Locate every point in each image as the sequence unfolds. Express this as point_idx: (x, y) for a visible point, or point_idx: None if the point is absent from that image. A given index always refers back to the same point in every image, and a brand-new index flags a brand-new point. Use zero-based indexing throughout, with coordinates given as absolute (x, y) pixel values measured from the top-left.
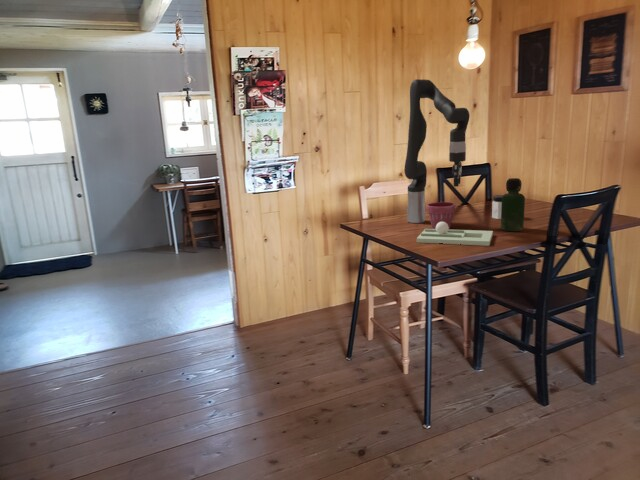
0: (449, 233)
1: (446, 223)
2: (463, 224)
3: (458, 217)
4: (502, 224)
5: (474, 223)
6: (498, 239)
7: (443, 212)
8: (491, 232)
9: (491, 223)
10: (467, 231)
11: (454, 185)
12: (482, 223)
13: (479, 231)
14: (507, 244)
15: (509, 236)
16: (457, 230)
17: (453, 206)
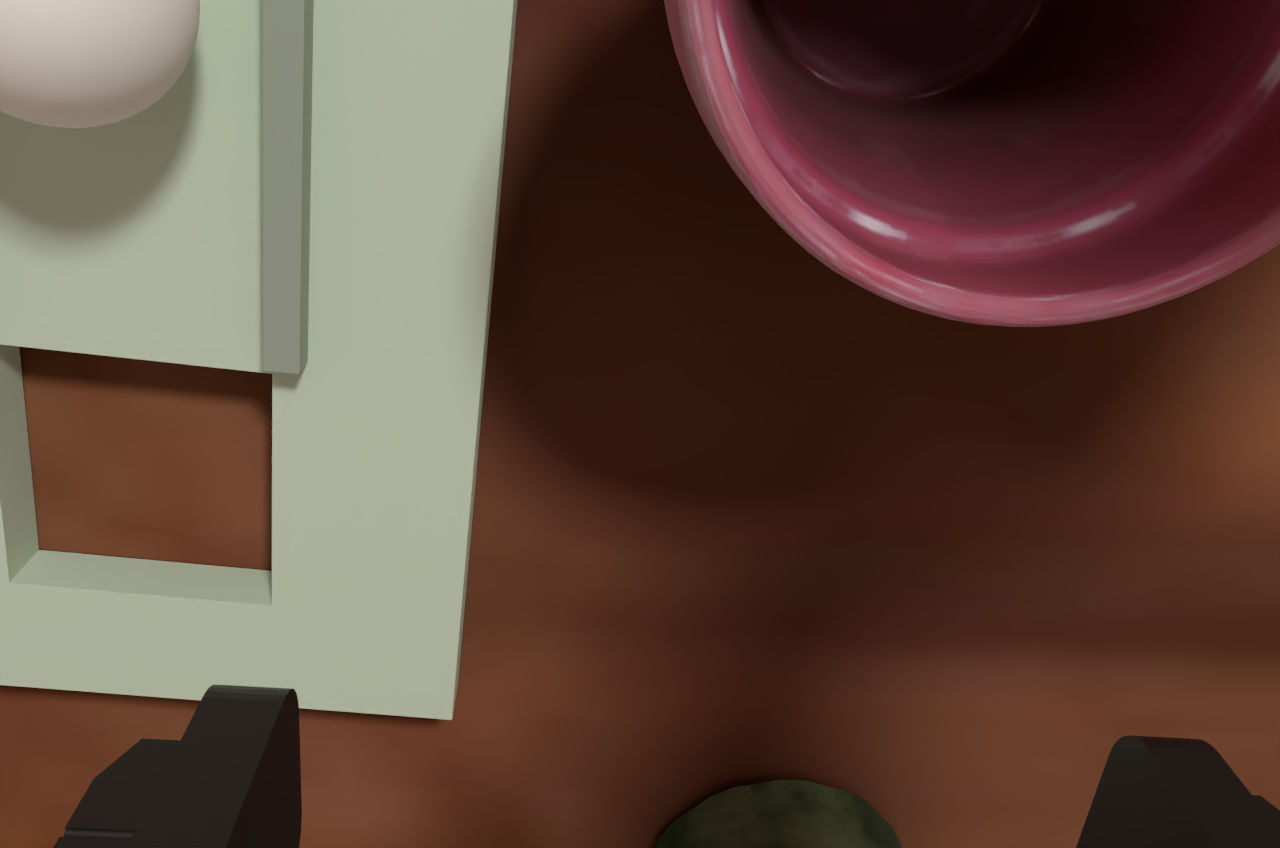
0: (186, 123)
1: (20, 93)
2: (1165, 324)
3: None
4: (727, 844)
5: (1203, 480)
6: None
7: (667, 11)
8: (357, 703)
9: (1154, 683)
10: (382, 408)
11: (209, 730)
12: (1179, 580)
13: (402, 567)
14: (6, 806)
15: (410, 837)
16: (276, 267)
17: (859, 284)
